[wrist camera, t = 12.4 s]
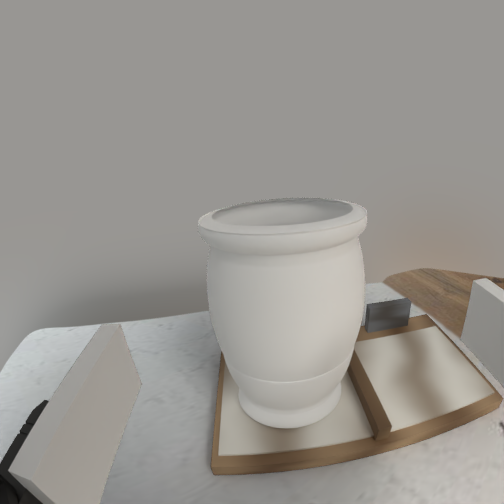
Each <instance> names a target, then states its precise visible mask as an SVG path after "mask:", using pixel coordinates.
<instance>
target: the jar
mask: <svg viewBox="0 0 504 504" xmlns="http://www.w3.org/2000/svg"><path fill="white" fill-rule="evenodd" d="M366 214H367V209H366V208H364V207H363V206H361V205H359V204H356V203H352V202H348V201H341V200H334V199H321V198H283V199H271V200H261V201H254V202H248V203H242V204H237V205H233V206H229V207H225V208H221V209H218V210H215V211H212V212H210V213H207V214H205V215H204V216H203V217H201V218H200V219H199V220H198V224H199V226H198V232H199V235H200V237H201V238H202V240H204V241H205V242H206V243H207V244H209V246H210V250H209V256H208V262H207V295H208V305H209V311H210V317H211V321H212V325H213V329H214V332H215V335H216V338H217V341H218V343H219V346H220V348H221V350H222V353H223V355H224V359H225V362H226V364H227V367H228V369H229V372H230V374H231V376H232V378H233V379H234V381H235V382H236V384H237V385H238V387H239V394H238V396H239V402H240V405H241V407H242V409H243V410H244V411H245V413H246V414H247V415H248V416H249V417H251V418H252V419H254V420H255V421H257V422H259V423H261V424H264V425H266V426H270V427H275V428H298V427H303V426H307V425H310V424H313V423H315V422H317V421H319V420H321V419H323V418H324V417H326V416H327V415H328V414H329V413H330V412H331V411H332V410H333V409H334V408H335V407H336V405H337V404H338V402H339V399H340V396H341V383H340V381H341V380H342V378H343V376H344V375H345V373H346V371H347V368H348V366H349V363H350V361H351V357H352V354H353V350H354V344H355V342H356V339H357V336H358V333H359V330H360V326H361V322H362V317H363V311H364V303H365V271H364V262H363V255H362V251H361V247H360V243H359V240H358V235H360V234H361V233H362V232H363V230H364V229H365V228H366V225H367V215H366Z"/></svg>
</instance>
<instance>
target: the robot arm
mask: <svg viewBox="0 0 504 504" xmlns="http://www.w3.org/2000/svg"><path fill="white" fill-rule="evenodd" d="M460 340H461V341H462V342H463V343H464V344H465V345H466V346H467V347H468V348H469V349H470V351H471V352H472V353H473V354H474V355H475V356H476V357H477V358H478V359H479V360H480V361H481V362H482V364H483V365H484V366H485V367H486V368H487V369H488V370H489V371H490V372H491V374H492V375H493V376H494V377H495V378H496V379H497V380H498V382H499V383H500V384H501V385H502V386H503V387H504V290H503V289H502V288H500V287H499V286H497V285H496V284H494V283H493V282H491V281H490V280H488V279H487V278H483V279H479V280H474V281H473V285H472V290H471V296H470V301H469V305H468V310H467V315H466V319H465V323H464V327H463V331H462V335H461V339H460ZM141 385H142V382H141V380H140V377H139V375H138V372H137V370H136V367H135V364H134V362H133V359H132V356H131V354H130V351H129V348H128V345H127V342H126V339H125V336H124V334H123V331H122V328H121V324H102V325H101V326H100V328H99V329H98V330H97V332H96V333H95V335H94V336H93V337H92V339H91V340H90V342H89V343H88V344H87V346H86V347H85V349H84V350H83V351H82V353H81V354H80V356H79V357H78V359H77V360H76V361H75V363H74V364H73V366H72V367H71V369H70V370H69V372H68V373H67V375H66V376H65V378H64V379H63V381H62V382H61V384H60V385H59V387H58V388H57V390H56V391H55V393H54V394H53V396H52V397H51V399H50V400H49V401H47V400H44V401H43V402H42V403H41V404H40V405H38V406H37V407H36V408H35V409H34V410H33V411H32V412H31V414H30V415H29V417H28V419H27V420H26V424H24V425H23V426H22V428H21V430H20V434H18V435H17V436H16V438H15V439H14V441H13V443H12V444H11V446H10V448H9V449H8V451H7V453H6V455H5V456H4V458H3V460H2V462H1V463H0V504H100V501H101V498H102V494H103V491H104V488H105V485H106V482H107V479H108V476H109V473H110V470H111V467H112V464H113V461H114V458H115V455H116V453H117V450H118V447H119V444H120V441H121V438H122V436H123V433H124V430H125V427H126V425H127V422H128V419H129V417H130V414H131V411H132V408H133V406H134V403H135V401H136V398H137V395H138V393H139V390H140V388H141Z"/></svg>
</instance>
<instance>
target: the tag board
mask: <svg viewBox="0 0 504 504" xmlns="http://www.w3.org/2000/svg"><path fill="white" fill-rule="evenodd" d="M410 308H411V301H410V300H409V299H408V298H404V299H398V300H392V301H385V302H379V303H372V304H367V309H366V320H365V326H360V330H359V333H358V336H357V339H356V342H355V344H354V350H353V354H352V357H351V361H350V363H349V366H348V368H347V371H346V373H345V375H344V376H343V378H342V380H341V381H340V383H341V396H340V399H339V402H338V404H337V405H336V407H335V408H334V409H333V410H332V411H331V412H330V413H329V414H328V415H327V416H326V417H324V418H323V419H321V420H319V421H317V422H315V423H313V424H310V425H307V426H303V427H298V428H275V427H270V426H266V425H264V424H261V423H259V422H257V421H255V420H254V419H252V418H251V417H249V416H248V415H247V414H246V413H245V411H244V410H243V409H242V407H241V405H240V402H239V396H238V394H239V387H238V385H237V384H236V382H235V381H234V379H233V378H232V376H231V374H230V372H229V369H228V367H227V364H226V362H225V359H224V355H223V353H222V351H221V361H220V371H219V381H218V391H217V402H216V412H215V423H214V435H213V446H212V458H211V469H212V471H213V474H214V475H240V474H259V473H272V472H282V471H291V470H299V469H307V468H313V467H320V466H326V465H331V464H336V463H342V462H346V461H351V460H356V459H360V458H364V457H368V456H372V455H376V454H380V453H384V452H387V451H391V450H394V449H398V448H401V447H404V446H408V445H411V444H414V443H417V442H420V441H423V440H425V439H428V438H431V437H434V436H436V435H439V434H442V433H444V432H447V431H449V430H452V429H454V428H457V427H459V426H461V425H464V424H466V423H468V422H470V421H473V420H475V419H477V418H479V417H481V416H483V415H485V414H487V413H489V412H491V411H493V410H495V409H497V408H498V407H499V406H500V404H501V402H502V400H503V398H502V396H501V395H500V394H499V393H498V392H497V390H496V389H495V388H494V387H493V386H492V385H491V383H490V382H489V381H488V380H487V379H486V378H485V376H484V375H483V374H482V373H481V372H480V371H479V370H478V369H477V367H476V366H475V365H474V364H473V363H472V362H471V361H470V360H469V358H468V357H467V356H466V355H465V354H464V353H463V352H462V351H461V350H460V349H459V348H458V347H457V345H456V344H455V343H454V342H453V341H452V340H451V339H450V338H449V337H448V336H447V335H446V334H445V333H444V332H443V331H442V330H441V329H440V328H439V327H438V325H437V324H436V323H435V322H434V321H433V320H432V319H431V318H430V317H429V316H428V315H427V314H426V315H421V316H416V317H411V318H409V314H410Z"/></svg>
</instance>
